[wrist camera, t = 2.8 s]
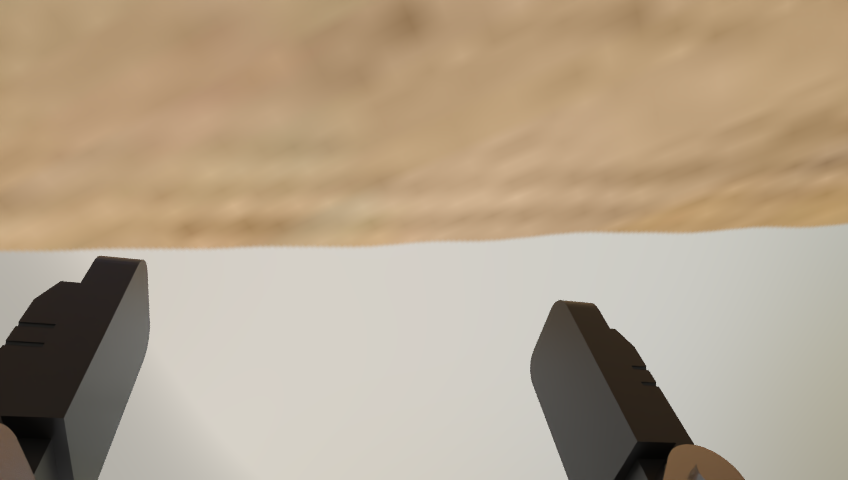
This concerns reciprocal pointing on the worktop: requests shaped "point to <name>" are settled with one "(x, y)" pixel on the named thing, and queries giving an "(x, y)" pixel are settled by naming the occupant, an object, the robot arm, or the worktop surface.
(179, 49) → the worktop surface
